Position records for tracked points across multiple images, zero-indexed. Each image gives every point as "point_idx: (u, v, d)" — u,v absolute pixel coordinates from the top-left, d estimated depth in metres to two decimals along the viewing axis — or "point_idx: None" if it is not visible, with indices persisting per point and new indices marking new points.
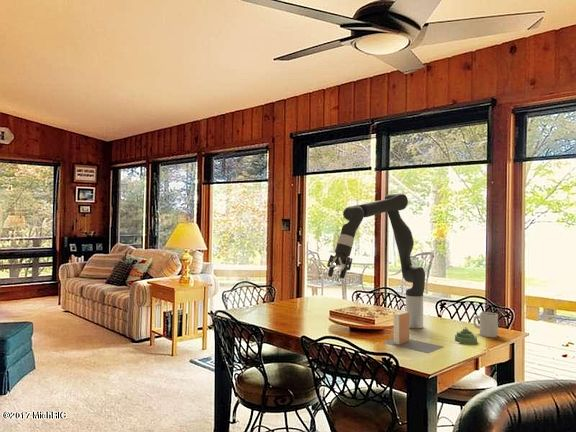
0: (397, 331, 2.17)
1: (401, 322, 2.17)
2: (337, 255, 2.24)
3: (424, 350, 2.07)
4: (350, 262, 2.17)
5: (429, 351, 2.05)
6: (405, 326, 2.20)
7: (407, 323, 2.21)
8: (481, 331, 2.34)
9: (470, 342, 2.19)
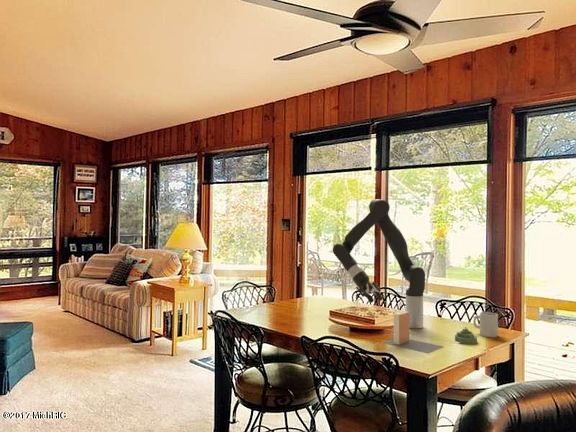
0: (397, 331, 2.17)
1: (401, 322, 2.17)
2: None
3: (424, 350, 2.07)
4: (360, 288, 2.29)
5: (429, 351, 2.05)
6: (405, 326, 2.20)
7: (407, 323, 2.21)
8: (481, 331, 2.34)
9: (470, 342, 2.19)
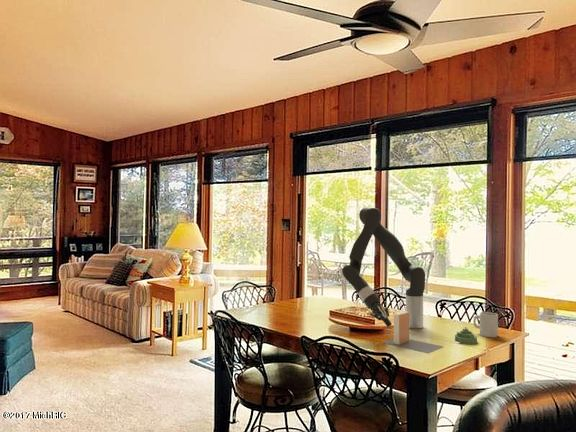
0: (397, 331, 2.17)
1: (401, 322, 2.17)
2: None
3: (424, 350, 2.07)
4: (376, 314, 2.24)
5: (429, 351, 2.05)
6: (405, 326, 2.20)
7: (407, 323, 2.21)
8: (481, 331, 2.34)
9: (470, 342, 2.19)
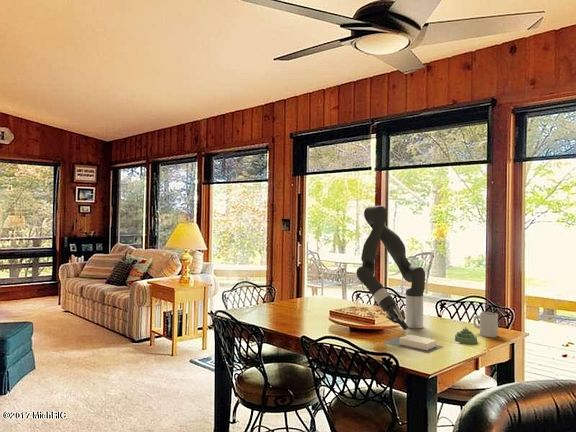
0: (410, 344, 2.12)
1: None
2: None
3: (424, 350, 2.07)
4: (392, 317, 2.18)
5: (429, 351, 2.05)
6: None
7: None
8: (481, 331, 2.34)
9: (470, 342, 2.19)
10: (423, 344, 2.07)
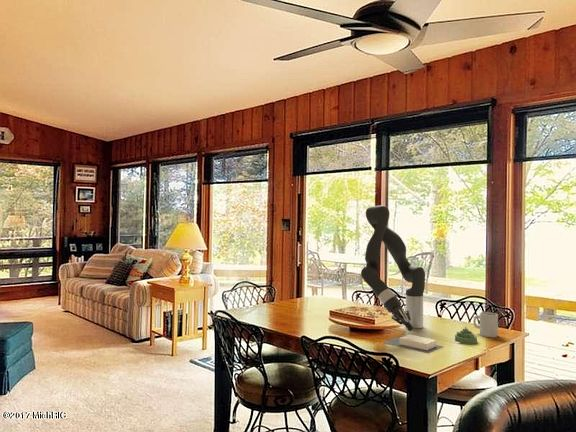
0: (410, 344, 2.12)
1: None
2: None
3: (424, 350, 2.07)
4: (397, 318, 2.16)
5: (429, 351, 2.05)
6: None
7: None
8: (481, 331, 2.34)
9: (470, 342, 2.19)
10: (423, 344, 2.07)
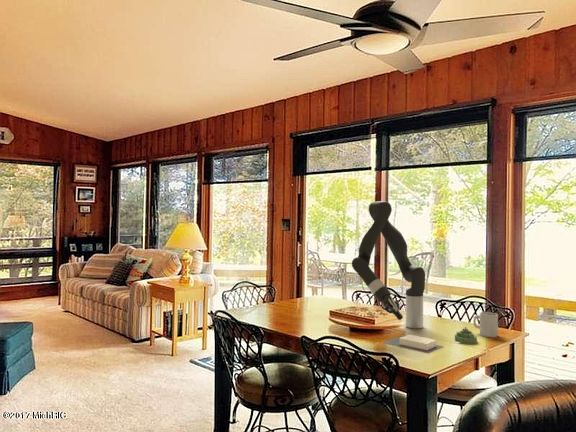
0: (410, 344, 2.12)
1: None
2: None
3: (424, 350, 2.07)
4: (386, 307, 2.20)
5: (429, 351, 2.05)
6: None
7: None
8: (481, 331, 2.34)
9: (470, 342, 2.19)
10: (423, 344, 2.07)
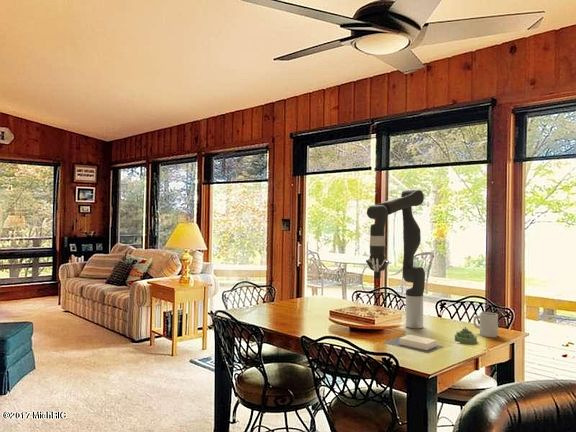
0: (410, 344, 2.12)
1: None
2: (373, 256, 2.33)
3: (424, 350, 2.07)
4: (386, 265, 2.30)
5: (429, 351, 2.05)
6: None
7: None
8: (481, 331, 2.34)
9: (470, 342, 2.19)
10: (423, 344, 2.07)
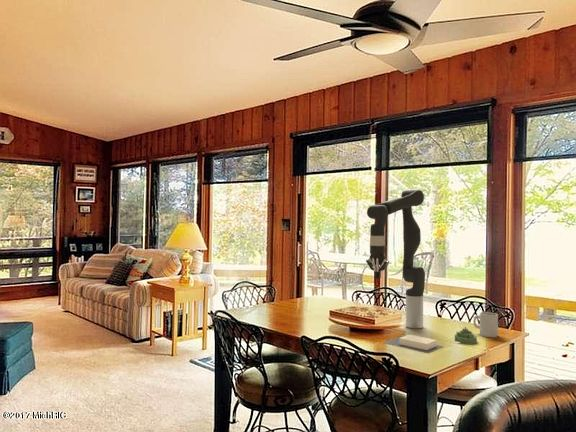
0: (410, 344, 2.12)
1: None
2: (373, 255, 2.33)
3: (424, 350, 2.07)
4: (386, 265, 2.30)
5: (429, 351, 2.05)
6: None
7: None
8: (481, 331, 2.34)
9: (470, 342, 2.19)
10: (423, 344, 2.07)
